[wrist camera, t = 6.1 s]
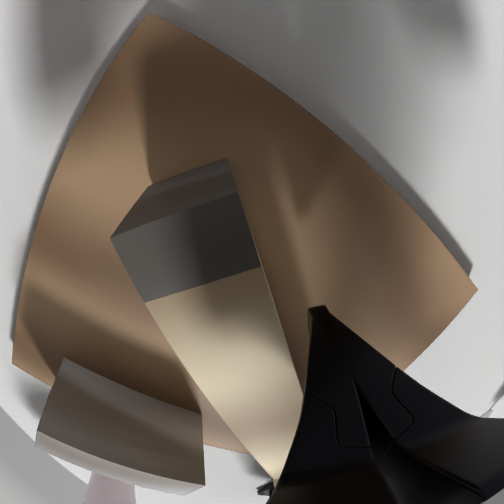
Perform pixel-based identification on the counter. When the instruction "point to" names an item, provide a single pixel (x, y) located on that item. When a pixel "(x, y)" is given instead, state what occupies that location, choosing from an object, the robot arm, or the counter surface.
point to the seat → (264, 234)
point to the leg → (215, 304)
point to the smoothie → (108, 491)
